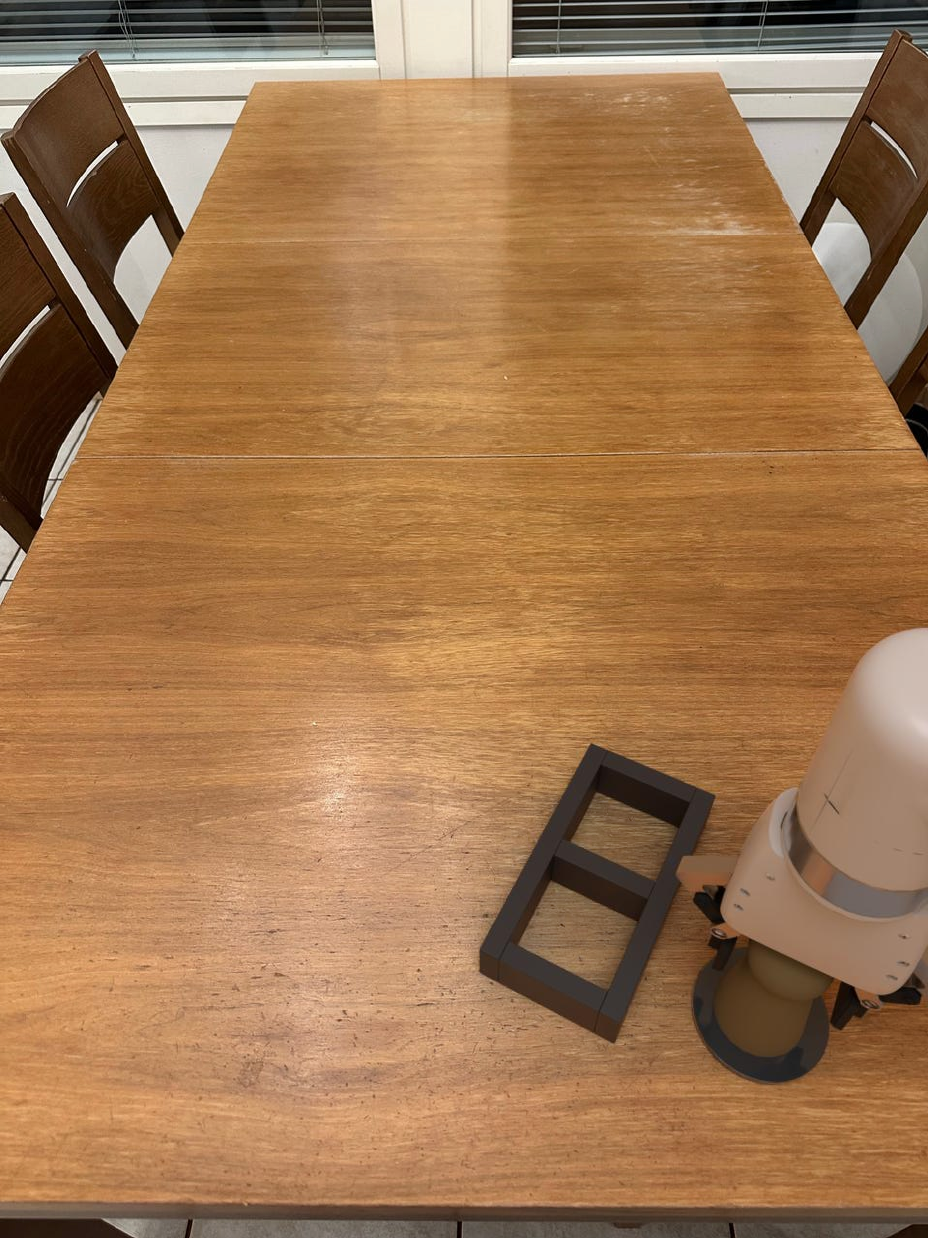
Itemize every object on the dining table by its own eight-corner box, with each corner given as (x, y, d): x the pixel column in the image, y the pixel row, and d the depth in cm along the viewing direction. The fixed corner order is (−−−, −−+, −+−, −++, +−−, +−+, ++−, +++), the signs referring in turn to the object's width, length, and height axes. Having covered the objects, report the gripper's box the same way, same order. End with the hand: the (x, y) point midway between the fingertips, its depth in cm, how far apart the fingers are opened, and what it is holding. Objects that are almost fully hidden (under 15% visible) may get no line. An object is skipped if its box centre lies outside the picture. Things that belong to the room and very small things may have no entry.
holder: (706, 822, 74) (716, 795, 71) (614, 1044, 63) (620, 1023, 60) (586, 770, 77) (590, 742, 74) (479, 972, 66) (478, 949, 63)
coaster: (842, 986, 65) (844, 984, 65) (807, 1112, 60) (809, 1110, 60) (716, 928, 68) (717, 925, 68) (672, 1042, 63) (674, 1040, 63)
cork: (694, 1006, 64) (725, 938, 56) (750, 949, 67) (788, 876, 58) (767, 1078, 61) (811, 1017, 53) (823, 1015, 64) (873, 948, 55)
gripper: (1067, 851, 46) (935, 990, 59) (718, 715, 51) (670, 869, 64) (1049, 990, 41) (911, 1106, 54) (670, 823, 47) (629, 965, 60)
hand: (781, 977), depth 59 cm, fingers open, 6 cm apart
